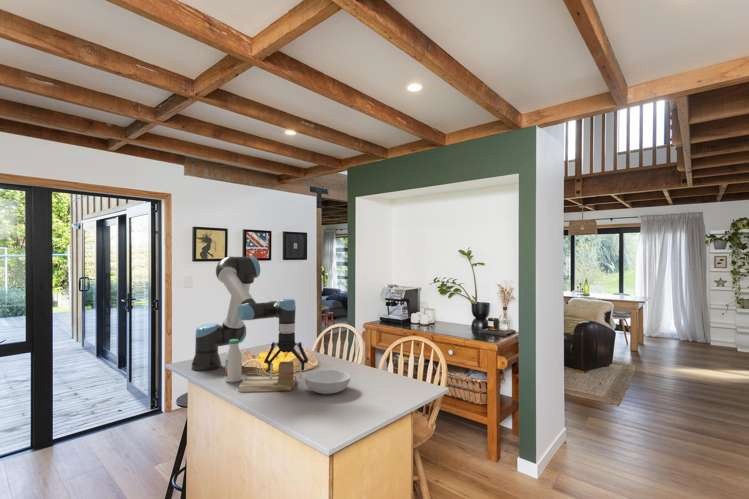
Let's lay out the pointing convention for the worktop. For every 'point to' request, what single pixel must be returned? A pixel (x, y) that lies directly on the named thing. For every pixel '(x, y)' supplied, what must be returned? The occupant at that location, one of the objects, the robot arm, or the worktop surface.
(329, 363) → the worktop surface
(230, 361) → the milk bottle
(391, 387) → the worktop surface
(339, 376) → the serving bowl
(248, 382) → the maple board
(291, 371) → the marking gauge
